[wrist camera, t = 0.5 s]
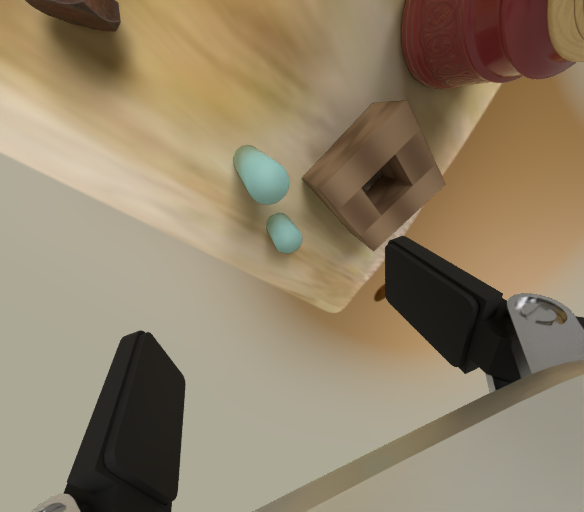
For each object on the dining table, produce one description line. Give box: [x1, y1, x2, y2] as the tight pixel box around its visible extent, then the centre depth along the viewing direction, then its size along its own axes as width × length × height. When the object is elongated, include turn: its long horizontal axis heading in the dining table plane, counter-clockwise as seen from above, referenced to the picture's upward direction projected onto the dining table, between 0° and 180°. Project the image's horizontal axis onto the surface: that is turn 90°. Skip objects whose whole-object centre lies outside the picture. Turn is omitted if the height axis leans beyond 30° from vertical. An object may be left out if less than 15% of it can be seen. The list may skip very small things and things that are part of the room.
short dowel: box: [266, 213, 302, 253], centre depth 32 cm, size 3×3×5 cm
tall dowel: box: [233, 145, 289, 205], centre depth 24 cm, size 3×3×11 cm
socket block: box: [302, 100, 445, 251], centre depth 31 cm, size 12×12×6 cm
